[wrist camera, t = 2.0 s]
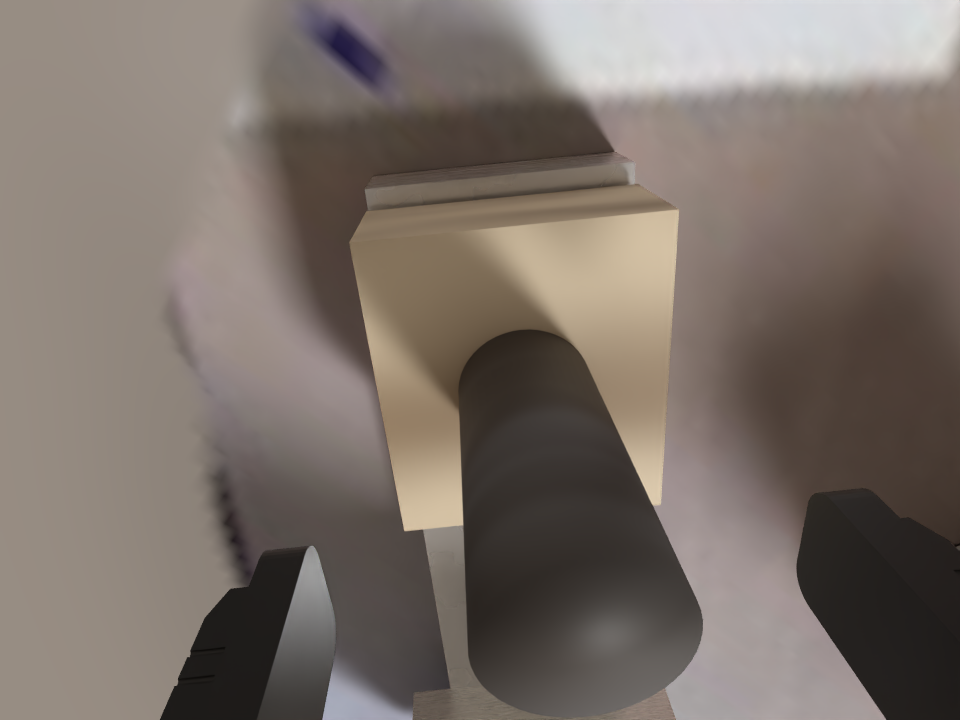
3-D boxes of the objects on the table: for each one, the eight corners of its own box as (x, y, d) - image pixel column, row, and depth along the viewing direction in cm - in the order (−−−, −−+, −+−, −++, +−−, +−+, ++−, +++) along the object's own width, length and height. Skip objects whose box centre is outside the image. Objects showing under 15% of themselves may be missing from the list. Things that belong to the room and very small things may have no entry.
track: (307, 182, 17) (67, 384, 6) (667, 146, 17) (1041, 284, 6) (424, 733, 29) (411, 1133, 18) (638, 710, 29) (753, 1096, 18)
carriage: (366, 211, 15) (251, 420, 6) (637, 183, 15) (911, 353, 6) (410, 464, 19) (378, 828, 10) (630, 441, 19) (796, 783, 10)
